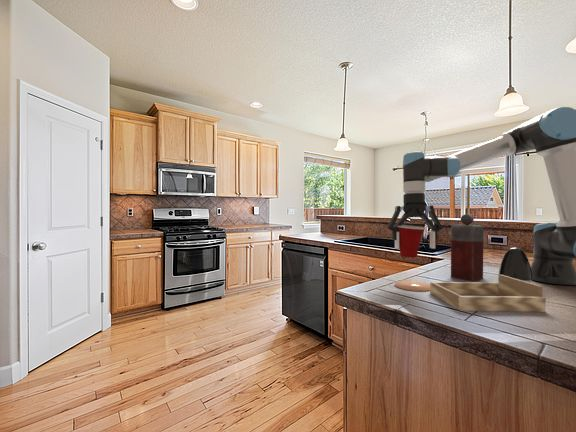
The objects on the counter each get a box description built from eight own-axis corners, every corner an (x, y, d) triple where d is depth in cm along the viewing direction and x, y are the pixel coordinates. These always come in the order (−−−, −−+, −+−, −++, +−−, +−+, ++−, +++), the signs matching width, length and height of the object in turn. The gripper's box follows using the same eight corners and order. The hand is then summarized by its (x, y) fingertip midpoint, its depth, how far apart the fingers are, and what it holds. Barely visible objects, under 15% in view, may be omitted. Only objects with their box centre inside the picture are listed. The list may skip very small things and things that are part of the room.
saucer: (422, 282, 114) (422, 280, 114) (439, 291, 101) (439, 288, 101) (390, 282, 114) (390, 280, 114) (403, 291, 101) (403, 288, 101)
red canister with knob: (486, 279, 120) (486, 214, 120) (472, 283, 114) (473, 214, 114) (463, 276, 127) (464, 214, 127) (450, 278, 121) (450, 214, 121)
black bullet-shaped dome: (526, 284, 112) (527, 246, 111) (536, 291, 102) (537, 249, 102) (495, 282, 116) (495, 245, 116) (502, 288, 106) (502, 248, 106)
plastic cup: (413, 259, 100) (415, 225, 100) (388, 255, 109) (389, 224, 109) (430, 257, 106) (431, 226, 106) (404, 254, 115) (405, 224, 115)
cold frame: (499, 293, 98) (499, 274, 98) (545, 311, 80) (545, 287, 80) (430, 293, 99) (430, 273, 99) (460, 310, 81) (460, 286, 81)
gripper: (441, 193, 111) (442, 247, 111) (378, 194, 112) (379, 247, 112) (452, 191, 104) (453, 249, 104) (384, 192, 104) (385, 250, 104)
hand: (414, 248), depth 108 cm, fingers open, 13 cm apart
